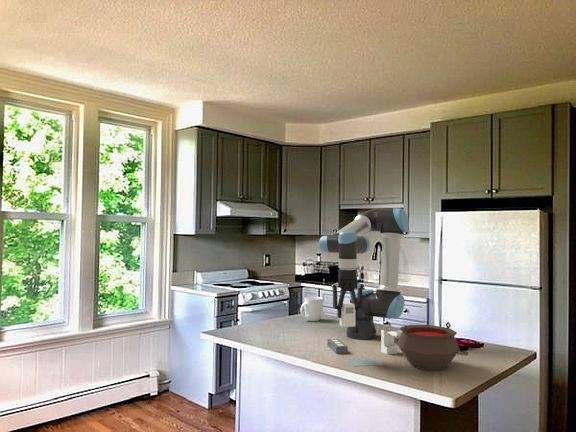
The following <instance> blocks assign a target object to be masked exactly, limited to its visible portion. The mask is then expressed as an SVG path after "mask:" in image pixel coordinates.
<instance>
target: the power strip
mask: <svg viewBox="0 0 576 432" xmlns="http://www.w3.org/2000/svg"><path fill="white" fill-rule="evenodd" d="M326 343H327V347H328V348H329V349H331V351H333V352H334V353H335V354H336V355H338V354H339V355H341V354H342V355H343V354H348V353H349V350H348V349H349V346H348V345H347V344H345V343H344V342H343V341H341V340H340V339H339V338H336V337H331V338H327V342H326Z"/></svg>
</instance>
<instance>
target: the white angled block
mask: <svg viewBox="0 0 576 432" xmlns="http://www.w3.org/2000/svg"><path fill="white" fill-rule="evenodd" d="M380 331H381V333H380V337H381V339H380V344H381V345H380V346H381V347H380V351H381V353H383V354H385V355H394V354H398V345H397V344H396V345H395V336H394V335H392V334H391V333H389V332H387V331H386V330H384V329H381V330H380Z"/></svg>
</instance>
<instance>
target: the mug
mask: <svg viewBox="0 0 576 432" xmlns="http://www.w3.org/2000/svg"><path fill="white" fill-rule="evenodd" d="M303 299H304V302H303V303H302V304H301V306H300V311H299V312H300V314H301V316H302V317H303V318H306V319H307V321H309V322H319V321H320V319H321V318H322V315H323V311H324V310H323V308H324V298H323V297H321V296H305V297H304V298H303ZM303 309H304V311H303Z"/></svg>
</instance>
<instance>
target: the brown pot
mask: <svg viewBox="0 0 576 432" xmlns="http://www.w3.org/2000/svg"><path fill="white" fill-rule="evenodd" d="M451 327H452V325H451V322H450V321H447V322H446V323H445V325H444V326H439V325H433V324H406V325H405V326H402V327H399V330H400V331H401V334H400V336H399V338H398V341H397V342H396V346H397V347H399V350H400V351H401V352H402V354H403V356H404V357H405V359H406V360H407V362H408V363H409V364H410V366H412V368H416V369H421V370H426V371H441V370H444V369H446V368H448V366H449V365H450V364H451V362H452V361H453V360H454V359H455V357H456V356H457V355H458V353H460V351H461V349H460V347H459V345H458V344H459V343H458V342H457V339H456V337H455V336H456V335H457V334H458V332H457V331H455V330H453V329H452V328H451Z"/></svg>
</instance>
